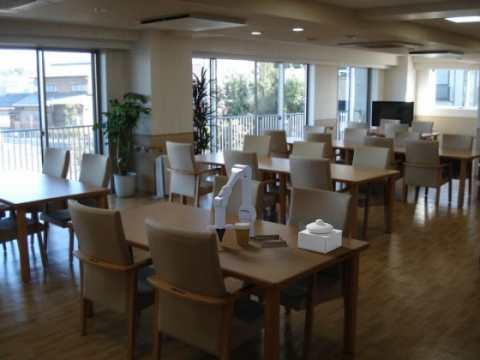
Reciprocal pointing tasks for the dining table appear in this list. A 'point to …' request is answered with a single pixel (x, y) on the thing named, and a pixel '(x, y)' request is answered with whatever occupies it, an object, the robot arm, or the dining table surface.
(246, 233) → the disposable coffee cup
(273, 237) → the cup holder
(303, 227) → the architectural model on board
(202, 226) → the dining table surface
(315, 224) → the butter dish
